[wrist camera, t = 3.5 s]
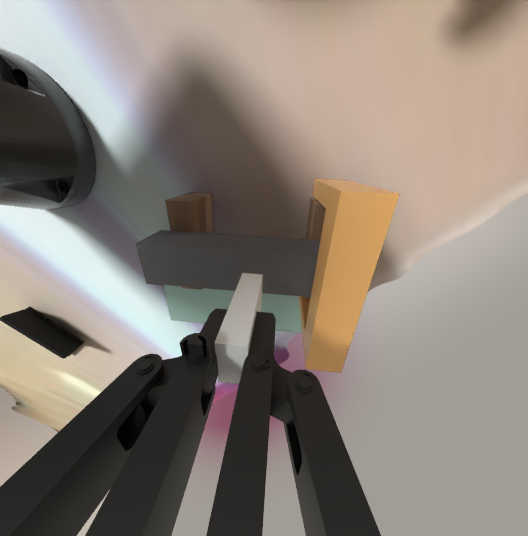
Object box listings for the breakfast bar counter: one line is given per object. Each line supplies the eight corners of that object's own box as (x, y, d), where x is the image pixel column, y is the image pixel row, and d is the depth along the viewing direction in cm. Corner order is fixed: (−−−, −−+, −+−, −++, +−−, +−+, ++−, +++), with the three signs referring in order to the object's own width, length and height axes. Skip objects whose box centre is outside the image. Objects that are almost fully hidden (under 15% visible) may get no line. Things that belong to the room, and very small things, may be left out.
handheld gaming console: (9, 333, 38) (-42, 355, 29) (37, 300, 40) (-4, 311, 30) (75, 356, 42) (49, 382, 33) (98, 325, 44) (79, 342, 35)
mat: (173, 317, 34) (171, 320, 34) (165, 283, 31) (163, 284, 31) (308, 330, 33) (309, 333, 32) (315, 295, 30) (315, 297, 29)
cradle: (200, 265, 29) (181, 288, 24) (191, 192, 24) (165, 200, 19) (319, 274, 28) (327, 300, 23) (332, 199, 23) (346, 209, 18)
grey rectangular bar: (168, 264, 22) (146, 283, 19) (161, 230, 21) (135, 243, 17) (341, 278, 21) (353, 300, 18) (350, 242, 19) (365, 259, 16)
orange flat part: (298, 296, 27) (305, 369, 17) (314, 178, 20) (340, 191, 11) (320, 298, 27) (340, 372, 17) (345, 180, 20) (399, 193, 10)
